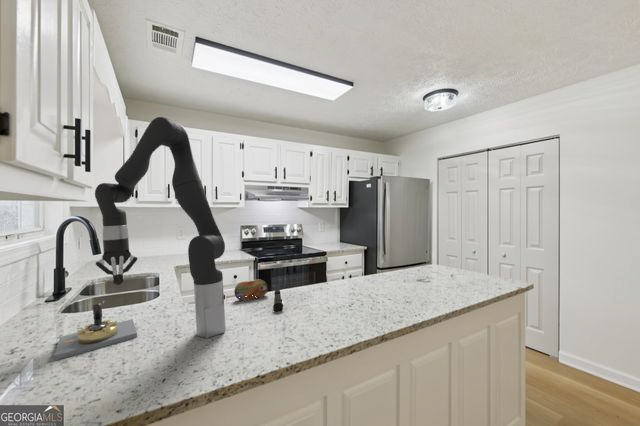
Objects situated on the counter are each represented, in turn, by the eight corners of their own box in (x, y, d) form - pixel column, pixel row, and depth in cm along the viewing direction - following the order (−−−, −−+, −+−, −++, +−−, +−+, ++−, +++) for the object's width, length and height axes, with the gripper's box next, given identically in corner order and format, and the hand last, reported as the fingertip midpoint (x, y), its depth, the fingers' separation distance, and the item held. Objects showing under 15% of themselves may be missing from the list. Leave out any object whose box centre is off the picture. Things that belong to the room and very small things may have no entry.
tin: (235, 302, 121) (234, 283, 121) (234, 300, 124) (233, 282, 124) (268, 296, 127) (267, 278, 127) (267, 294, 130) (266, 277, 130)
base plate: (137, 337, 91) (136, 332, 91) (54, 360, 78) (53, 355, 78) (132, 322, 103) (132, 318, 103) (60, 341, 91) (60, 336, 91)
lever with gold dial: (118, 336, 89) (116, 310, 88) (77, 347, 82) (75, 319, 82) (116, 322, 100) (114, 299, 100) (80, 331, 94) (78, 307, 94)
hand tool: (283, 312, 107) (282, 300, 107) (273, 313, 107) (272, 301, 107) (283, 297, 126) (283, 287, 126) (275, 297, 126) (274, 287, 125)
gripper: (92, 240, 93) (95, 290, 93) (138, 236, 101) (141, 282, 101) (92, 239, 98) (95, 286, 99) (136, 235, 107) (138, 279, 107)
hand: (118, 284), depth 100 cm, fingers closed
